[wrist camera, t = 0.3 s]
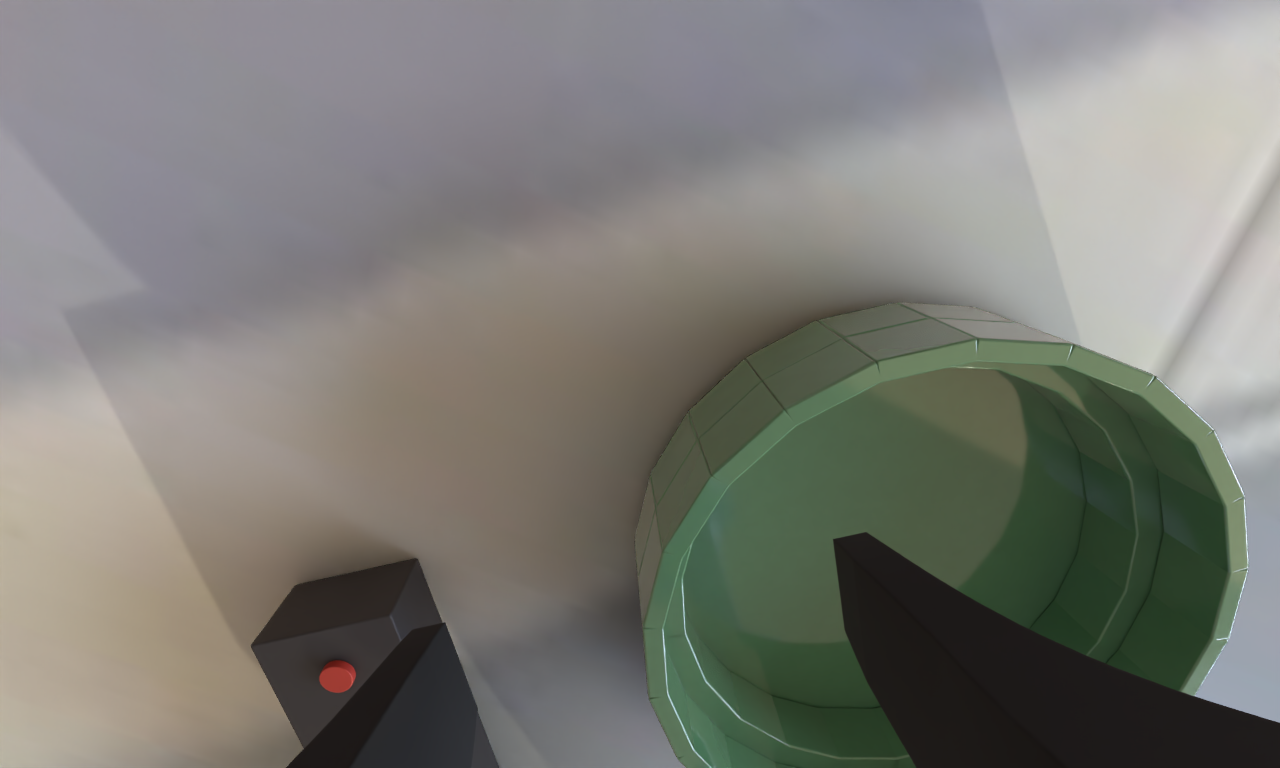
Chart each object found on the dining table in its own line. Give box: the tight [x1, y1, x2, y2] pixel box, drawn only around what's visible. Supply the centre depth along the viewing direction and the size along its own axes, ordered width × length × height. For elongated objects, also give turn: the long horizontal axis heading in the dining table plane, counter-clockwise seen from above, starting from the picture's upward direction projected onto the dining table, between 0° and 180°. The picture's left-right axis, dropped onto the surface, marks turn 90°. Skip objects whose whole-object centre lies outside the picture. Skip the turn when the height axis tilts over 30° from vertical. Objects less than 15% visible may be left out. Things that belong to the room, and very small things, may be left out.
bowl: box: [634, 302, 1249, 768], centre depth 20 cm, size 17×17×5 cm
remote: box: [251, 559, 499, 768], centre depth 22 cm, size 12×4×3 cm, turn 12°
